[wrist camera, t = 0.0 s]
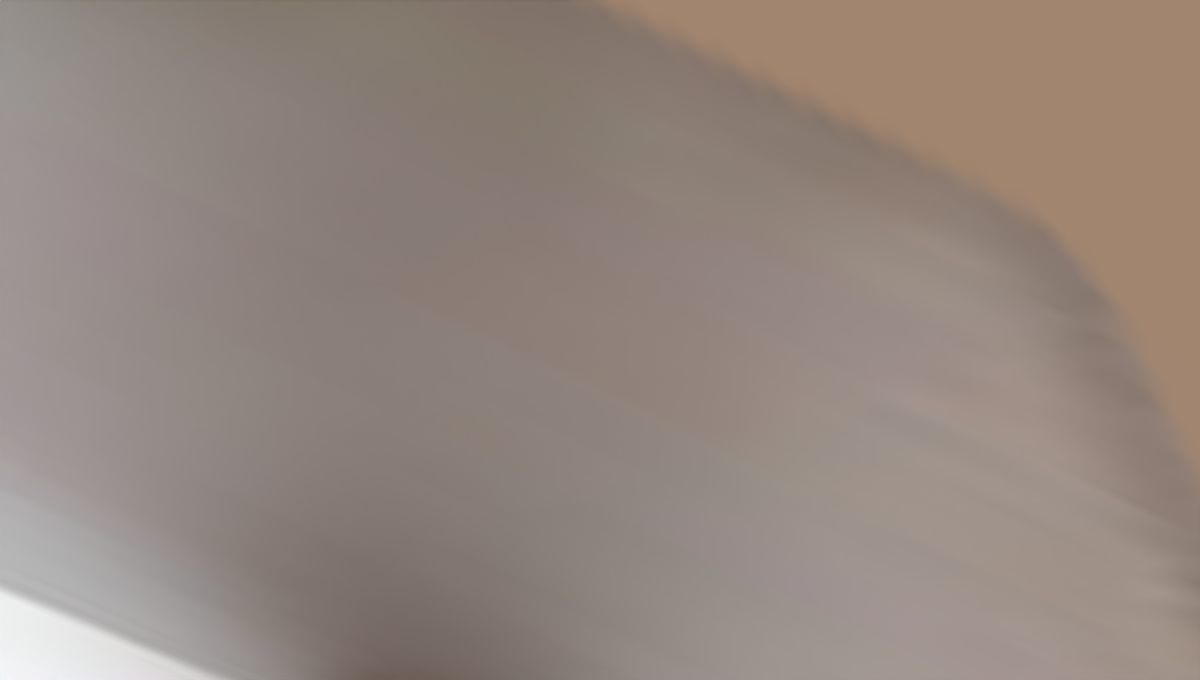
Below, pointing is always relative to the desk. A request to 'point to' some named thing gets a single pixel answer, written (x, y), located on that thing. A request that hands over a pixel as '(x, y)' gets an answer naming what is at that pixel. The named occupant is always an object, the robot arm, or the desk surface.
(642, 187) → the desk surface
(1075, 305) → the desk surface
